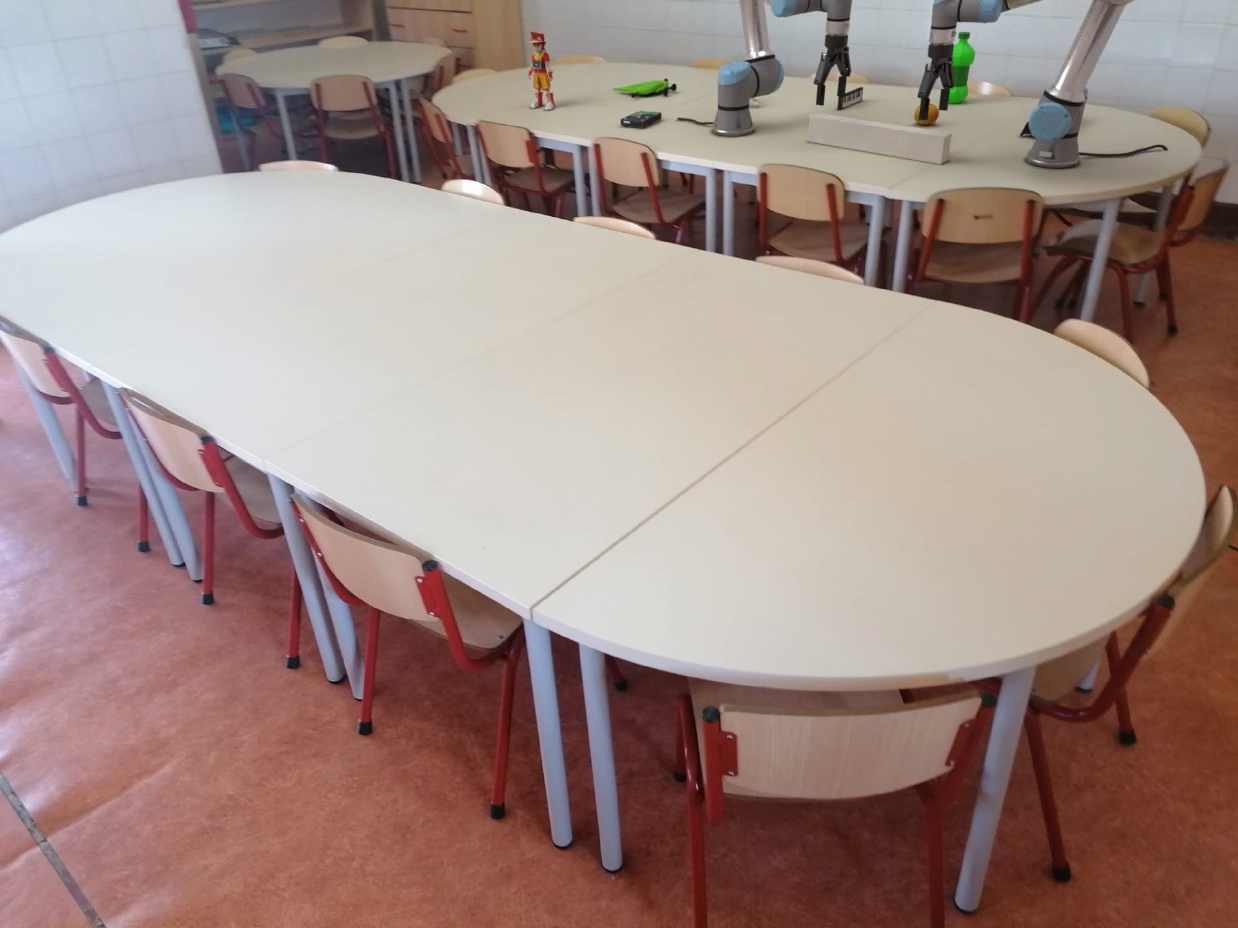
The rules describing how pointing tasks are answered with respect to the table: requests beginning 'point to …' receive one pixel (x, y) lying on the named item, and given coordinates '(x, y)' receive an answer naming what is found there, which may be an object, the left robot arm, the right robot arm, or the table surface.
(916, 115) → the fruit
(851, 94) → the midi keyboard
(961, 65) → the plastic bottle
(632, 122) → the disk drive
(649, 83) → the toy
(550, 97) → the toy
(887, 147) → the bar
